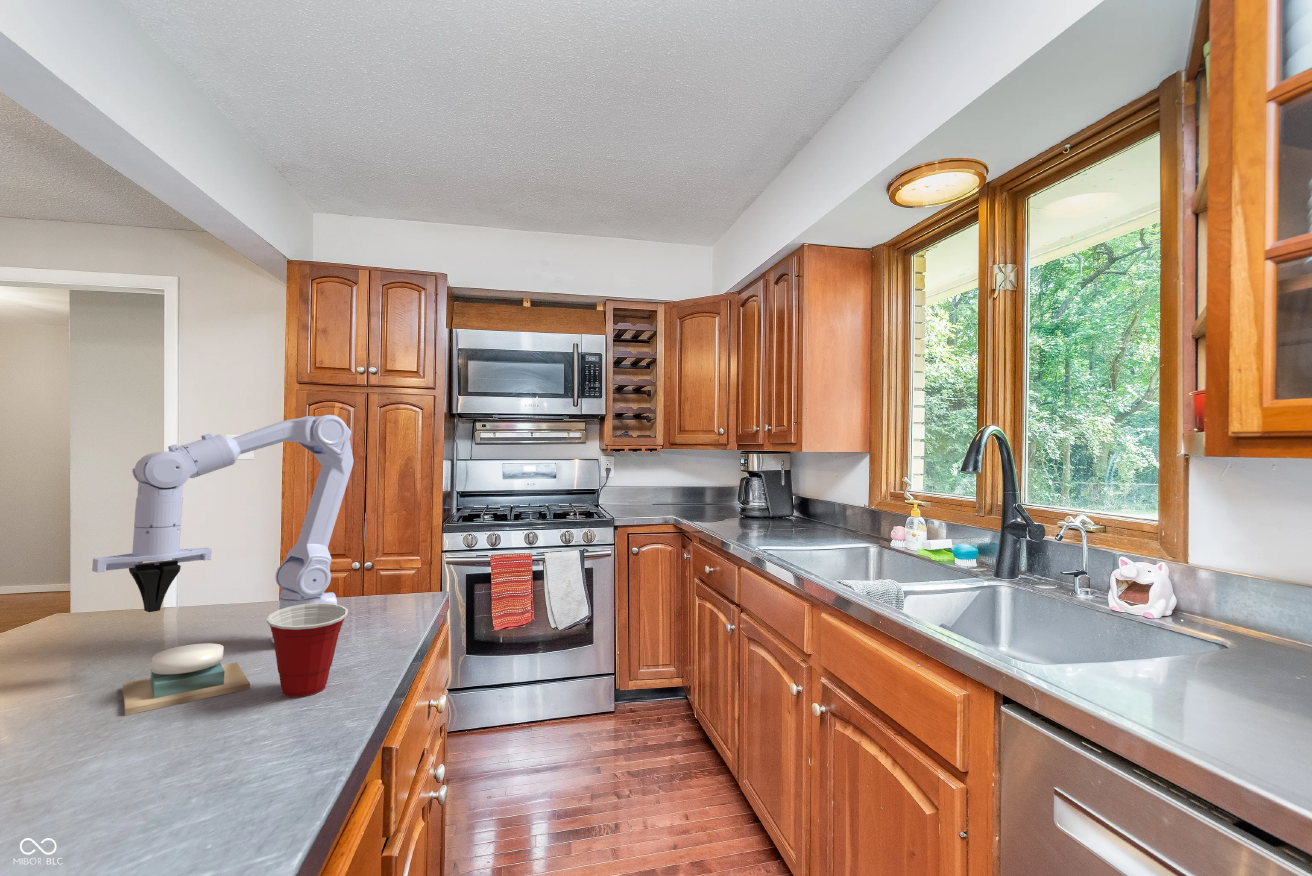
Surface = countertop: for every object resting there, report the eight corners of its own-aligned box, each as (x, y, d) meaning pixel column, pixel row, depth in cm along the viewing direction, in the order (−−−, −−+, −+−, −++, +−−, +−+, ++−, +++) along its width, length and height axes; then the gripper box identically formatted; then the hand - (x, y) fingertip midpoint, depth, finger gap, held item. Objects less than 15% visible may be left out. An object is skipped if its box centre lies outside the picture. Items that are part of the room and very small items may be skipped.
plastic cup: (264, 712, 79) (269, 625, 79) (259, 686, 87) (263, 608, 88) (350, 694, 86) (355, 614, 86) (338, 672, 94) (342, 599, 95)
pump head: (217, 666, 92) (219, 640, 92) (225, 681, 86) (227, 653, 86) (148, 679, 86) (150, 650, 86) (152, 696, 80) (154, 666, 80)
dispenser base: (236, 667, 95) (237, 650, 95) (249, 688, 86) (250, 670, 87) (122, 688, 85) (123, 669, 85) (124, 715, 77) (126, 694, 77)
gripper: (200, 520, 100) (195, 598, 99) (88, 527, 87) (81, 616, 86) (219, 523, 96) (214, 604, 95) (104, 531, 83) (97, 624, 83)
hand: (152, 610), depth 91 cm, fingers closed
